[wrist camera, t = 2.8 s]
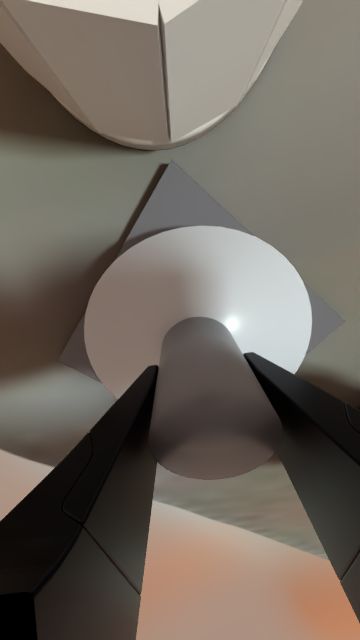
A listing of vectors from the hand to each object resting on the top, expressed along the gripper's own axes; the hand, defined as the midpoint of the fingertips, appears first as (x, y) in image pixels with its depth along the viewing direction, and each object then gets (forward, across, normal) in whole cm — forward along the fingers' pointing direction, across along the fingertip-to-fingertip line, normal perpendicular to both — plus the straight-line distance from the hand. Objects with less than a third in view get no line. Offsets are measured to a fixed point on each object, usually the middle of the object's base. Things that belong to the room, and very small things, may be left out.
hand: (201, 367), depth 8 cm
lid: (+2, 0, 0) cm, 2 cm away
